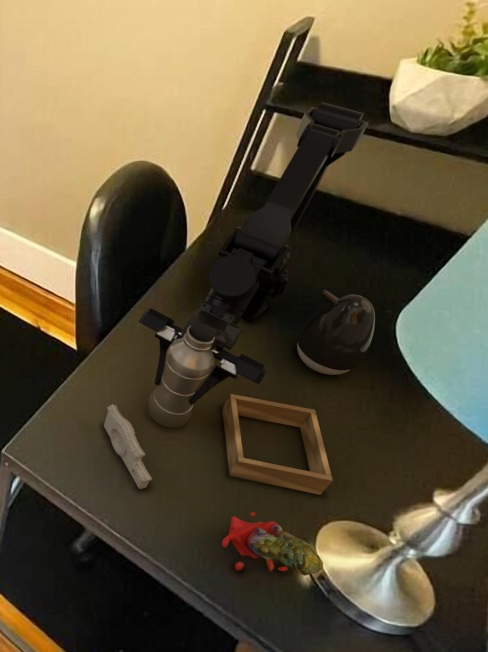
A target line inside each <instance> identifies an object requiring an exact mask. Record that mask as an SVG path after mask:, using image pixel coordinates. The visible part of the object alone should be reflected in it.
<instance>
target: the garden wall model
mask: <svg viewBox="0 0 488 652" xmlns="http://www.w3.org/2000/svg"><path fill="white" fill-rule="evenodd" d="M106 409H107V414H106V417H105V420H104V424H103V427H104V429H105V431H106V433H107V434H108V436H109V438H110V441H111V445H112V447H113V449H114V451H115V453H116V454H117V455H118V456H120V458H121V459H122V461H123V463H124V465H125V467H126V468H127V470H128V472H129V474H130V475H131V477H132V479H133V480H134V482H135V485H136V486H137V488H138V490H141V489H146V488H147V486H148V485H149V483H150V481H152V480H153V477H152V476H151V475H150V473H149V472H148V470H147V468H146V466H145V464H144V462H143V461H142V459H143V457H145V456H146V453H145V451H144V450H143V449H142V447H141V446H140V443H139V441H138V440H137V437H136V435H135V434H136V432H135V431H136V430H135V429H134V427H133V425H132V423H131V422H130V421H128V419H126V418H125V417H124V416H123V414H122V413H121V411H119V408H118V407H117V404H113V403H112V404H110V405H108V406H107V407H106Z"/></svg>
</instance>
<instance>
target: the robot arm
mask: <svg viewBox="0 0 488 652" xmlns="http://www.w3.org/2000/svg"><path fill="white" fill-rule="evenodd" d="M363 117H364V112H361V111H357V110H354V109H350V108H346V107H343V106H339V105H335V104H331V103H327V102H324V101H323V102H321V103H320V105H319V106H318V107H314V106H311V107H310V108H308V109H307V110H306V111H305V112H304V114H303V116H302V118H301V120H300V122H299V125H298V127H297V130H296V131H295V134H294V135H295V137H296V138H297V144H296V147H297V149H296V151H295V152H294V154H293V156H292V157H291V159H290V161H289V162H288V164H287V166H286V168H285V169H284V170H283V173H282V174H281V176H280V178H279V180H278V181H277V183H276V185H275V186H274V188H273V190H272V191H271V193H270V195H269V197H268V198H267V200H266V202H265V203H264V205H263V207H261V208H260V209H258V210H255V211H254V212H252V213H250V214H249V215H248V216H246V218H245V220H244V222H243V224H242V225H241V227H240V226H237V227H236V228H235V229H234V230H233V232H232V233H231V235H230V236H229V237H228V238H227V240H226V241H225V242H224V244H223V245H222V247H221V248H220V249H219V251H218V252H217V254H218V257H220V258H219V259H217V260H215V262H214V263H212V264H211V267H210V269H209V272H208V281H209V284H210V286H211V287H210V289H209V291H208V293H207V295H206V296H205V298H204V300H203V301H202V303H201V305H200V307H199V308H198V309H197V310H196V311H194V312H192V313H191V314H190V315H189V317H188V319H187V321H186V323H185V324H184V326H183V328H182V327H180V326H178V325H176V324H175V320H174V319H172V318H171V317H169V316H167V315H166V314H163V313H161V312H159V311H158V310H156V309H153V308H147V309H145V310H144V311H143V313H142V315H141V316H140V318H139V320H138V323H140V324H142V325H143V326H145V327H147V328H149V329H151V330H152V331H154V332H156V333H155V334H154V335H153V336H154V338H157V339H158V340H159V356H158V357H159V358H158V364H157V369H156V374H155V379H154V385H156V386H157V385H158V384H159V382H160V380H161V377H162V374H163V370H164V367H165V360H166V353H167V349H168V347H169V346H170V345H171V344H172V343H173V342H174V341H175V340H177V339H180V338H183V336H184V334H186V331H187V329H188V328H189V326H191V328H190V329H189V333H190V335H191V336H192V337H193V338H194V339H196V340H198V341H201V342H210V341H212V340H213V338H214V337H215V340H214V342H213V344H212V347H211V349H210V350H211V351H212V353H213V355H214V359H216V360H218V361H219V364H220V365H215V367H213V368H212V370H211V372H210V373H209V374H208V376H207V377H206V378H205V380H204V381H203V382H202V384H201V386H200V387H199V389H198V391H197V392H196V393H195V395H194V396H193V398H192V400H191V402H190V404H191V405H193V406H194V405H195V403H197V402H199V400H200V399H201V398H202V397H203V396H205V395H206V394H207V393H208V392H209V391H210V390H211V389H213V388H214V387H216V386H217V385H218V384H220V383H222V382H223V381H225V380H226V379H228V378H229V377H231V378H232V379H234V380H237V378H238V375H240V376H241V377H244V378H245V379H247V380H249V381H251V382H253V383H254V384H257V385H260V384H261V382H262V381H263V379H264V377H265V376H266V374H267V372H268V369H267V367H266V365H265V364H264V363H262V362H259V361H257V360H255V359H253V358H251V357H250V356H247V355H246V354H243V353H240V355H239V356H237V355H235V354H233V353H231V352H230V351H227V350H232V349H233V348H234V347H235V345H236V344H237V342H238V340H239V338H240V336H241V334H242V332H243V330H244V328H243V327H242V326H239V325H238V324H239V323H240V320H241V319H242V318H243V319H245V320H246V321H248V322H251V323H252V322H254V321H255V320H256V319H257V318H259V316H261V314H262V313H263V312H265V311H266V310H267V309H268V308H269V304H267V303H266V300H267V298H268V297H271V298H273V299H275V298H276V297H277V296H282V294H283V293H284V291H285V289H286V287H287V284H288V282H289V279H288V275H289V270H288V269H286V268H287V267H288V265H289V263H290V261H291V254H290V253H291V252H290V251H291V248H290V246H289V242H290V240H291V238H292V236H293V235H294V233H295V231H296V229H297V228H298V226H299V223H300V222H301V219H302V217H303V216H304V214H305V212H306V210H307V208H308V206H309V204H310V202H311V200H312V199H313V198H314V197H313V196H314V195H315V193H316V191H317V189H318V187H319V185H320V183H321V181H322V179H323V177H324V176H325V174H326V172H327V170H328V168H329V167H330V165H332V164H333V163H335V162H337V160H339V159H341V158H342V157H344V156H345V154H347V153H350V152H352V151H353V150H354V148H355V147H356V146H357V144H358V143H359V142H360V140H361V138H362V136H363V134H364V133H365V131H366V129H367V127H368V125H369V122H368V121H364V120H363ZM224 348H225V349H227V350H225V349H224Z"/></svg>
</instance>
